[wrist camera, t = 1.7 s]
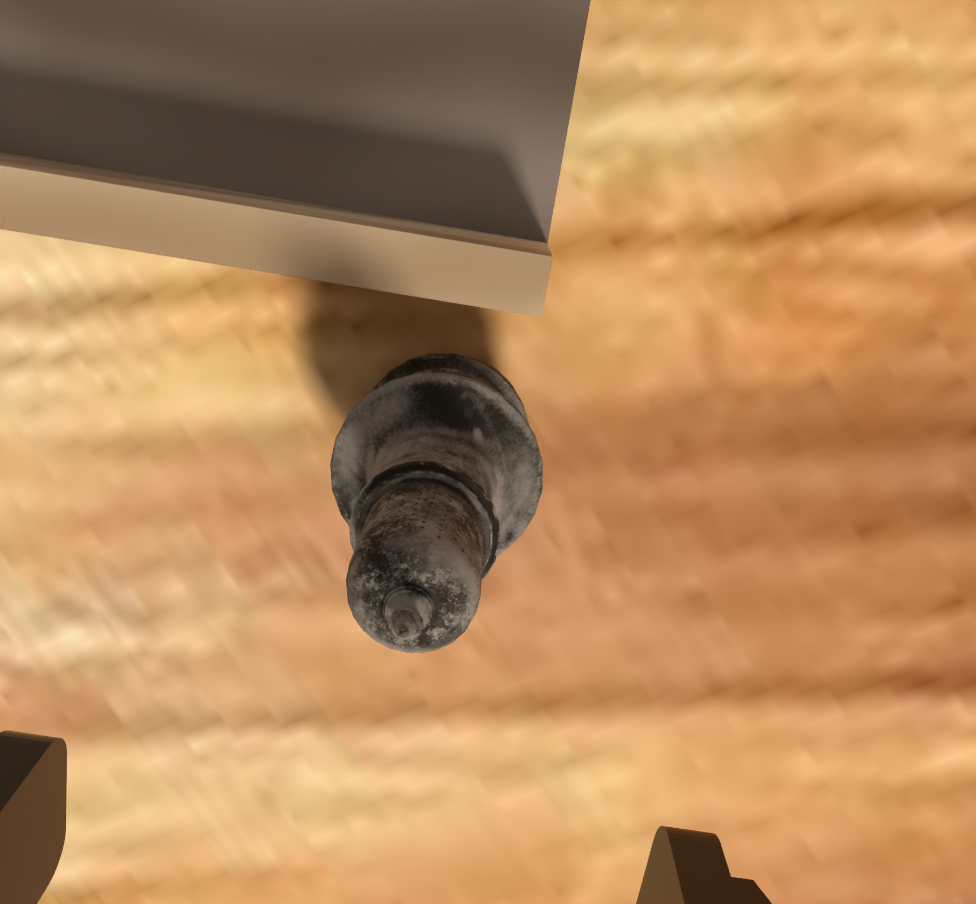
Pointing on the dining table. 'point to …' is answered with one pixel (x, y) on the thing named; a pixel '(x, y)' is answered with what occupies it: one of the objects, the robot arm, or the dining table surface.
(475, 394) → the dark stone finial
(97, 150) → the board
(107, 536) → the dining table surface
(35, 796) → the robot arm
